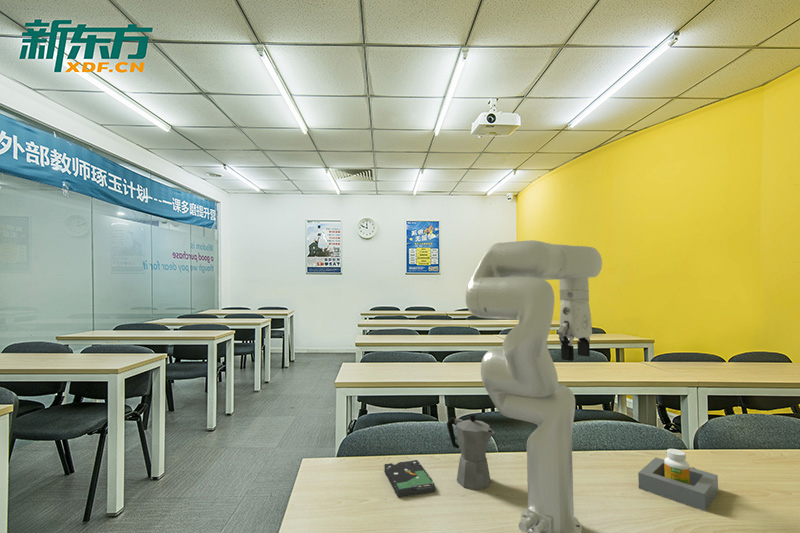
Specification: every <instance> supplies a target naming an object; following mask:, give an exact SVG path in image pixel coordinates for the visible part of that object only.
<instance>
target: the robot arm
mask: <svg viewBox="0 0 800 533" xmlns="http://www.w3.org/2000/svg"><path fill="white" fill-rule="evenodd" d="M602 266H603V258H602V256H601V253H600V251H598V249H596V248H595V247H592V246H586V245H585V246H584V245H567V244H557V243H555V244H554V243H550V242H549V243H548V242H544V241H540V240H533V239H532V240H520V241H506V242H496V243H494V244H492V245H491V246H489V248H488V249H487V250H486V251H485V253H484V254H483V256H482V257H481V258H480V260H479V262H478V264H477V265H476V267H475V270H474V272H473V274H472V276H471V278H470V279H469V282H468V284H467V287H466V291H465V304H466V308H467V310H468V311H469V312H470V313H471V314H472V315H473V316H475V317H477V318H483V319H498V320H499V319H501V320H516V321H518V323H517V324H516V325H515V326H514V327H512V329H510V330H509V332H508V333H507V334H506V336H505V337H504V339H503V342H502V346H501V347H495V348H494V347H493V348H491V349H488V351H487V352H485V354H484V355H483V357H482V359H481V362H480V377H481V381H482V384H483V387H484V389H485V391H486V392H487V394H488V396H489V398H490V399H491V401H492V403H493V406H495V408H496V410H497V411H498V413H500V414H501V415H502V416H505V417H506V418H510V419H514V420H515V419H516V420H520V421H525V422H529V423H531V424H535V425H536V426H537V427H536V429H534V430H533V431H532V432H531V434H529V436H528V439H527V440H526V466H527V467H526V468H527V469H526V471H527V472H526V473H527V476H526V477H527V478H526V479H527V480H526V481H527V507H526V508H525V509H523V511H522V512H521V514H520V522H519V523H518V528H519V531H520V532H522V533H526V532H527V533H583V526H582V523H581V522H580V521H579V519H578V518H576V517H575V514H574V513H575V511H574V509H575V508H574V504H575V503H574V476H573V475H574V474H573V472H574V471H573V429H574V428H573V427H574V419H575V412H576V397H575V394H574V392H573V391H572V389H570V388H569V387H568V386H566V385H564V384H562V383H559V378H558V372H557V369H556V366H555V362H554V361H553V360H554V359H553V358H552V355H551V353H550V351H549V347H548V343H547V342H548V337H549V334H550V331H551V326H552V321H553V319H554V318H553V317H554V310H555V293H554V289H553V286H552V285H551V283H550V282H548V280H550V281H551V280H559V281H558V282H559V285H558V286H559V302H560V308H559V310H560V311H559V328H558V329H557V333H558V336H559V337H558V340H559V343H560V344H559V345H560V354H561V356H560V358H561V360H563V361H568V362H569V361H570V362H573V361H574V360H575V359H574V357H575V356H574V354H575V353H574V345H573V342H574V339H575V338H576V339H578V341H577V342H576V343H577V355H578V356H582V357H588V358H589V357H590V356H591V352H590V350H591V348H590V342H591V338H590V336H592V334H593V328H592V316H591V315H592V314H591V308H590V288H589V287H590V286H589V285H590V283H589V279H591V278H596V277H597V276H599V275H600V273H601V271H602V268H603V267H602Z"/></svg>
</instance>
